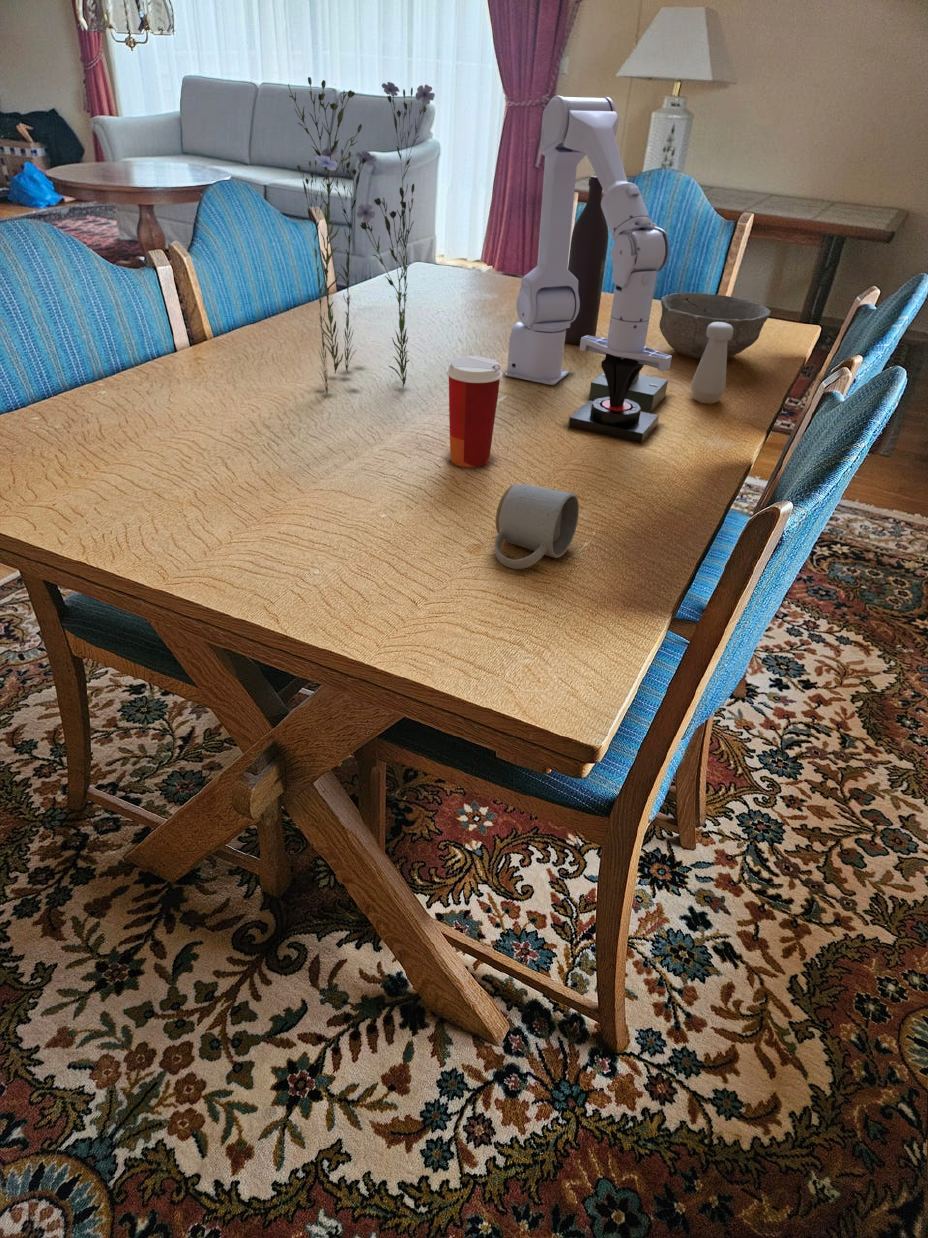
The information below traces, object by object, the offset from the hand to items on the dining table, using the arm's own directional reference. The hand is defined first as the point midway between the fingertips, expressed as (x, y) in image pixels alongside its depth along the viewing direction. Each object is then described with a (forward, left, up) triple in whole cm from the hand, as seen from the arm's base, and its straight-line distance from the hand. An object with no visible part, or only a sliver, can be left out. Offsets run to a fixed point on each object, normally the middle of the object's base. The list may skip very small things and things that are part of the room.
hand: (616, 404), depth 135 cm
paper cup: (-14, -24, -4) cm, 28 cm away
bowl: (+4, +46, -4) cm, 46 cm away
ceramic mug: (+4, -44, -4) cm, 44 cm away
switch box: (0, 0, -4) cm, 4 cm away
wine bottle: (-21, +41, -4) cm, 46 cm away
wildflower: (-43, -5, -4) cm, 43 cm away
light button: (0, 0, -2) cm, 2 cm away
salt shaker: (+10, +21, -4) cm, 24 cm away
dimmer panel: (-2, +14, -4) cm, 15 cm away
